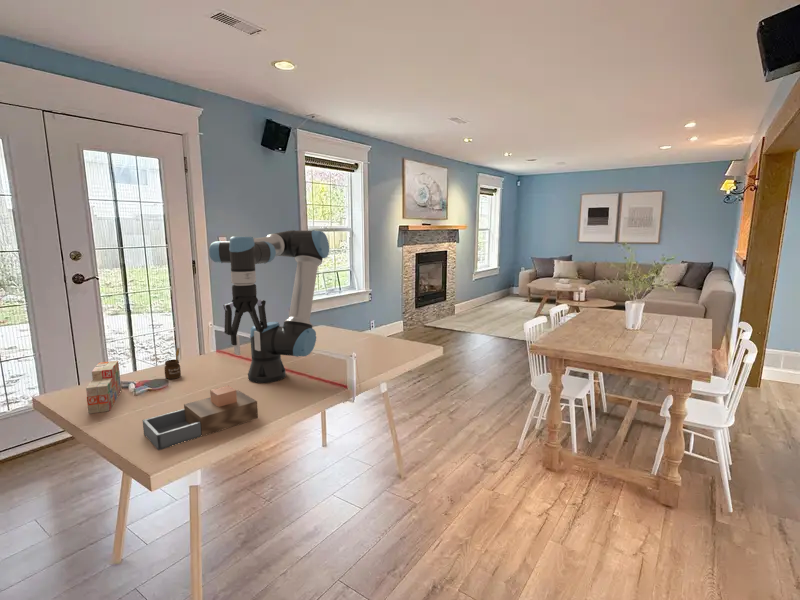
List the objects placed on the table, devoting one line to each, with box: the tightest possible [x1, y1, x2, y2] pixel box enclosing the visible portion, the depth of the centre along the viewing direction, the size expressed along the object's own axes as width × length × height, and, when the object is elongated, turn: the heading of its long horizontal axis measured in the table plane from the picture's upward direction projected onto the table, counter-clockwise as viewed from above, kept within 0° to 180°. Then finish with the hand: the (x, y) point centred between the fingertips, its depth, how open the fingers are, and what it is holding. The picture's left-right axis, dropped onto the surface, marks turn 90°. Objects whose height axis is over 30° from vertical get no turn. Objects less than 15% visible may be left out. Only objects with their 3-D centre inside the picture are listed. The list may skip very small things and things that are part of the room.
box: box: [142, 408, 202, 451], centre depth 131 cm, size 12×14×4 cm
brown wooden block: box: [183, 389, 259, 437], centre depth 141 cm, size 18×14×6 cm
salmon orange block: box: [209, 385, 237, 407], centre depth 141 cm, size 6×6×4 cm
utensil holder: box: [163, 347, 182, 380], centre depth 182 cm, size 6×6×12 cm
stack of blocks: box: [85, 360, 122, 415], centre depth 156 cm, size 21×6×12 cm, turn 23°
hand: (247, 352), depth 145 cm, fingers open, 6 cm apart
